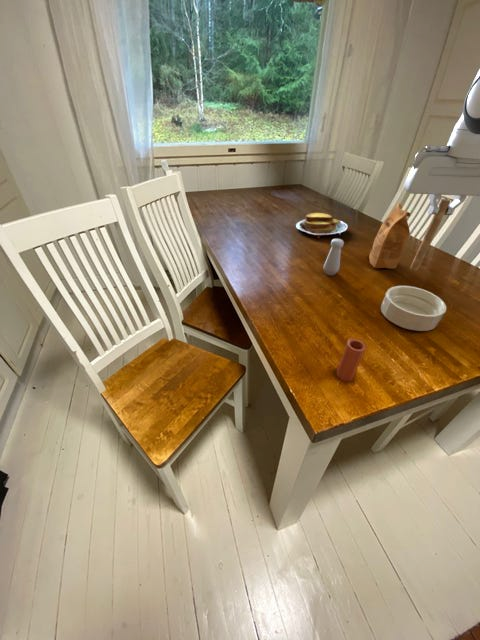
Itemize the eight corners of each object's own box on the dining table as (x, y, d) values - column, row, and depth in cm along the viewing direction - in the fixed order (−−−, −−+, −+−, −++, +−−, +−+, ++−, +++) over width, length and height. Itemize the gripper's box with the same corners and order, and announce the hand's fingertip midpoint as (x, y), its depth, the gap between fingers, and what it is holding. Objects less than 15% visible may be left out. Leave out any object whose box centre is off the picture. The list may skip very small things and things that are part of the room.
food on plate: (325, 244, 124) (328, 230, 120) (285, 228, 139) (286, 215, 135) (356, 231, 137) (359, 217, 133) (316, 218, 152) (318, 206, 148)
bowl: (439, 312, 85) (448, 296, 81) (433, 340, 75) (443, 323, 71) (386, 296, 91) (392, 280, 88) (374, 319, 81) (380, 303, 78)
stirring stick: (418, 268, 75) (451, 199, 64) (417, 271, 74) (450, 201, 62) (410, 266, 76) (441, 198, 65) (409, 269, 75) (440, 200, 63)
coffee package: (391, 257, 114) (412, 202, 100) (397, 272, 105) (422, 213, 91) (366, 255, 116) (383, 201, 102) (370, 269, 106) (390, 211, 92)
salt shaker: (339, 276, 101) (348, 243, 93) (324, 276, 101) (331, 243, 93) (335, 269, 106) (344, 236, 98) (320, 268, 106) (328, 236, 98)
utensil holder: (355, 373, 65) (367, 343, 59) (350, 384, 63) (362, 353, 56) (339, 366, 67) (350, 336, 61) (334, 376, 64) (344, 346, 58)
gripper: (426, 147, 55) (400, 216, 64) (533, 150, 54) (491, 220, 63) (413, 143, 60) (390, 208, 69) (511, 145, 59) (475, 211, 67)
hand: (439, 214), depth 66 cm, fingers closed on stirring stick, 2 cm apart
